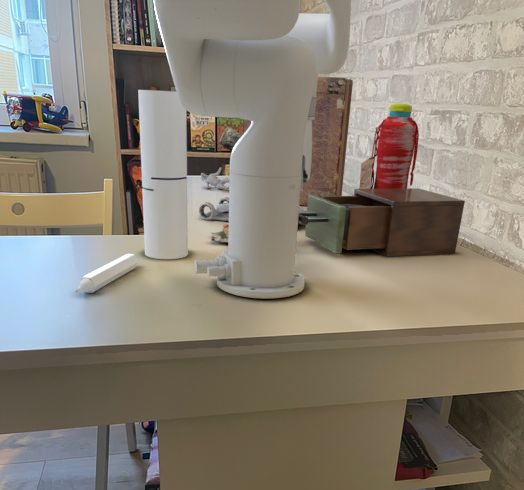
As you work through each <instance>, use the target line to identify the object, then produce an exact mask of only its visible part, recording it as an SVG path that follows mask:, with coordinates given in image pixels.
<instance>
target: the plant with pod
mask: <svg viewBox="0 0 524 490" xmlns="http://www.w3.org/2000/svg"><path fill="white" fill-rule="evenodd" d="M241 136H242V135H241V133H240V132H238V131H237V130H235V129H233V128H232V127H230V126H227V127H226V128H225V129H224V131H223V133H222V134H221V136H220V138H219V141H218V142H219V143H220V145H219V146H218V148H217V149H216V150H217V152H220V151H221V149H224V150H225V149H227V150H229V151H230V154H231V153H232V150H233V148H234V146H235V144H236V143H237V141H238V140H239V139H240V138H241ZM222 228H223V229H222V230H219V231H216V232H211V233H210V234H211V241H213V242H217V243H228V236H229V223H223V225H222Z"/></svg>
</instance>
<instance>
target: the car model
mask: <svg viewBox="0 0 524 490" xmlns="http://www.w3.org/2000/svg"><path fill="white" fill-rule="evenodd" d="M206 207H207V208H208V209H209V210H210V211H207V212H206V213H205V208H206ZM299 213H307V209H305V208H302V207H300V206H299ZM198 214H199V216H200V217H201V218H202V219H203V220H205V221H212V220H213V221H224V222H225V221H226V222H229V197H227V196H225V197H222V198H221V199H219V202H218V204H217V205H216V208H215V206H214V204H213V203H211V202H208V201H207V202H203V203H202V204H200V206H199V207H198ZM298 225H302V224H301V223H299V222H298Z"/></svg>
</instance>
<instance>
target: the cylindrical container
mask: <svg viewBox="0 0 524 490" xmlns="http://www.w3.org/2000/svg"><path fill="white" fill-rule="evenodd" d="M137 91H138V92H137V93H138V94H137V96H138V117H139V118H138V119H139V139H140V141H139V142H140V168H141V187H142V188H141V189H142V212H143V213H142V214H143V217H142V218H143V239H144V255H145V256H146V257H148V258H151V259H158V260H177V259H183V258H185V257H187V256H188V255H189V244H188V241H189V239H188V237H189V233H188V141H187V140H188V139H187V134H188V132H187V129H188V127H187V110H186V109H185V108H184V107H183V105H182V104H181V102H180V99H179V97H178V94H177V91H176V90H175V91H173V90H155V89H152V90H151V89H138V90H137Z"/></svg>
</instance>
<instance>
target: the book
mask: <svg viewBox="0 0 524 490" xmlns="http://www.w3.org/2000/svg"><path fill="white" fill-rule="evenodd" d="M353 85H354V81H353V79H350V78H349V79H348V78H347V77H337V76H335V77H333V76H318V81H317V94H316V97H315V98H316V107H315V120H312V161H311V173H310V179H309V181H308V182H306V183H303V192H300V200H299V207H300V206H301V207H307V206H308V195H309V194H314V195H317V196H319V197H322V196H343V184H344V176H345V165H346V155H347V145H348V135H349V125H350V116H351V115H350V114H351V105H352V97H353V95H352V94H353V87H354V86H353ZM242 120H243V123H242V130H243V131H242V135H243V134H244V133H245V132H246V131H247V129H248V128H249V127H250V125H251V121H250V120H247V119H242Z"/></svg>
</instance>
